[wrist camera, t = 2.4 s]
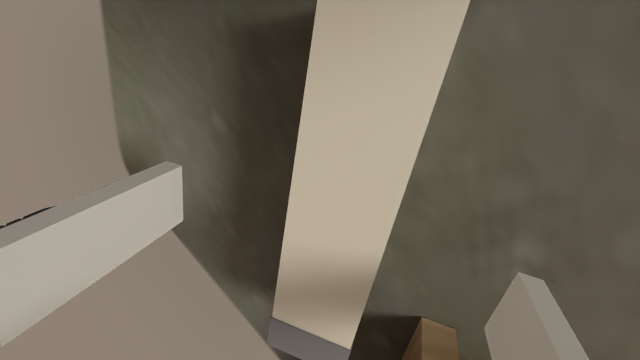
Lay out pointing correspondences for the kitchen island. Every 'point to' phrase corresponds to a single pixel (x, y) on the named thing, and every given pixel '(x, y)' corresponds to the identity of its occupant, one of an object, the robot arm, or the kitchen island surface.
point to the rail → (355, 160)
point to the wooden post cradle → (432, 342)
